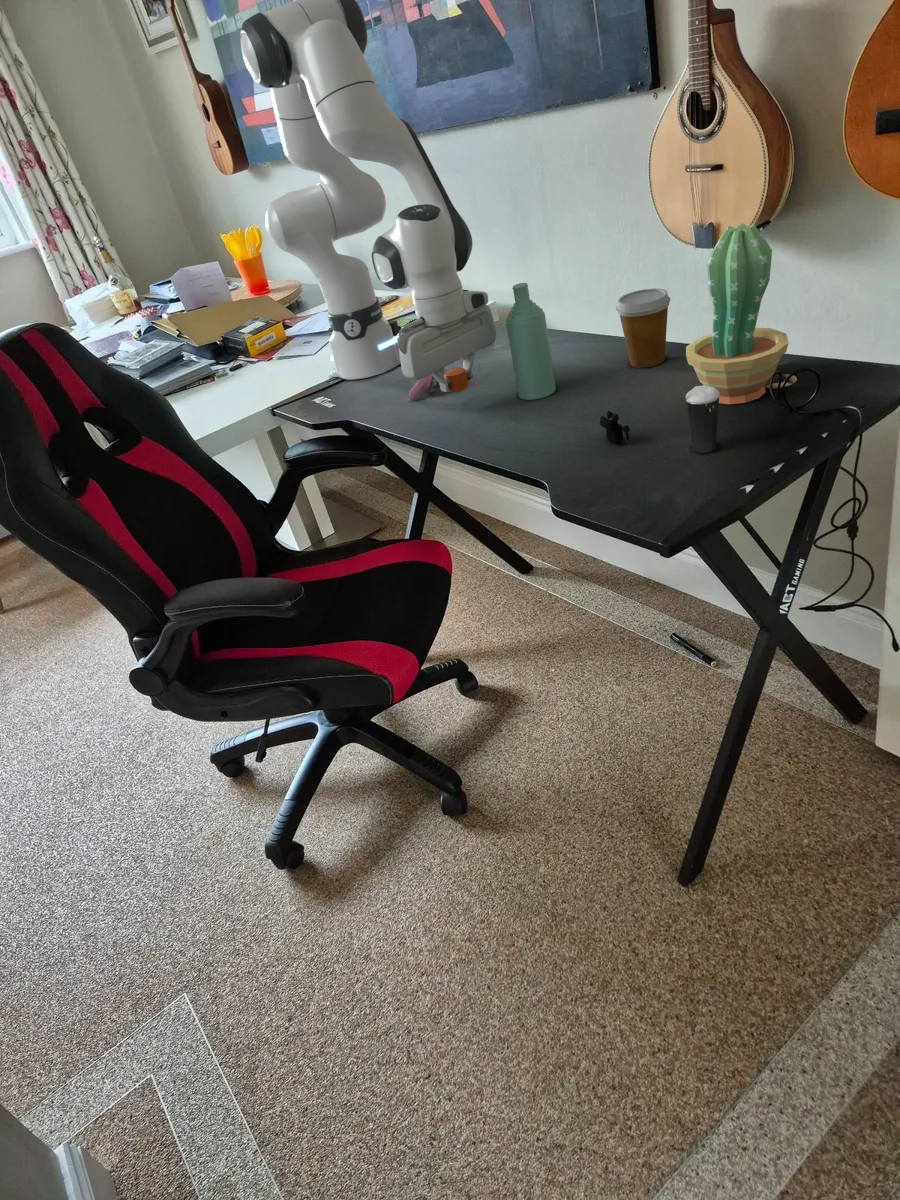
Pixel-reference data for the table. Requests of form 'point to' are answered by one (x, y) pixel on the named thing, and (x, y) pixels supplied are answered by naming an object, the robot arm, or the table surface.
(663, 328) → the disposable coffee cup
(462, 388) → the cap
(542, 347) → the bottle
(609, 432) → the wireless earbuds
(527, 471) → the table surface
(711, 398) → the glass of dark beer
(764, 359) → the potted cactus
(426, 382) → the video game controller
